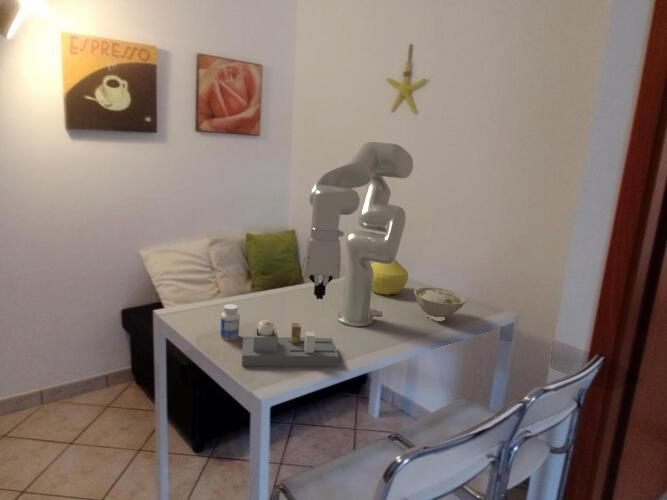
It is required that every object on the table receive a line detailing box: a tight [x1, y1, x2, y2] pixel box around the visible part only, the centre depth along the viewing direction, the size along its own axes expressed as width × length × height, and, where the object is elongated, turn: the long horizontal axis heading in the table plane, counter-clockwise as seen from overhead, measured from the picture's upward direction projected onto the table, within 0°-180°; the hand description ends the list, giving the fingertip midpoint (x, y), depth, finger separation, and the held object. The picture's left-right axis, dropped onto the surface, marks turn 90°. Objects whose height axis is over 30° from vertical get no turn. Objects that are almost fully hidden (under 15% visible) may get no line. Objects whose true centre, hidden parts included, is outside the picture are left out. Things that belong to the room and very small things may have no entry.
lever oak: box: [290, 322, 302, 344], centre depth 135 cm, size 2×3×5 cm
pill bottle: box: [220, 303, 241, 341], centre depth 141 cm, size 6×5×10 cm
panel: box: [241, 327, 340, 367], centre depth 132 cm, size 26×12×7 cm, turn 100°
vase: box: [370, 259, 409, 296], centre depth 198 cm, size 18×18×19 cm
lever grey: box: [304, 331, 316, 353], centre depth 130 cm, size 2×3×5 cm
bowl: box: [413, 286, 468, 318], centre depth 174 cm, size 19×19×10 cm
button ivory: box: [258, 319, 274, 336], centre depth 130 cm, size 4×4×4 cm
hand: (319, 297), depth 134 cm, fingers closed
